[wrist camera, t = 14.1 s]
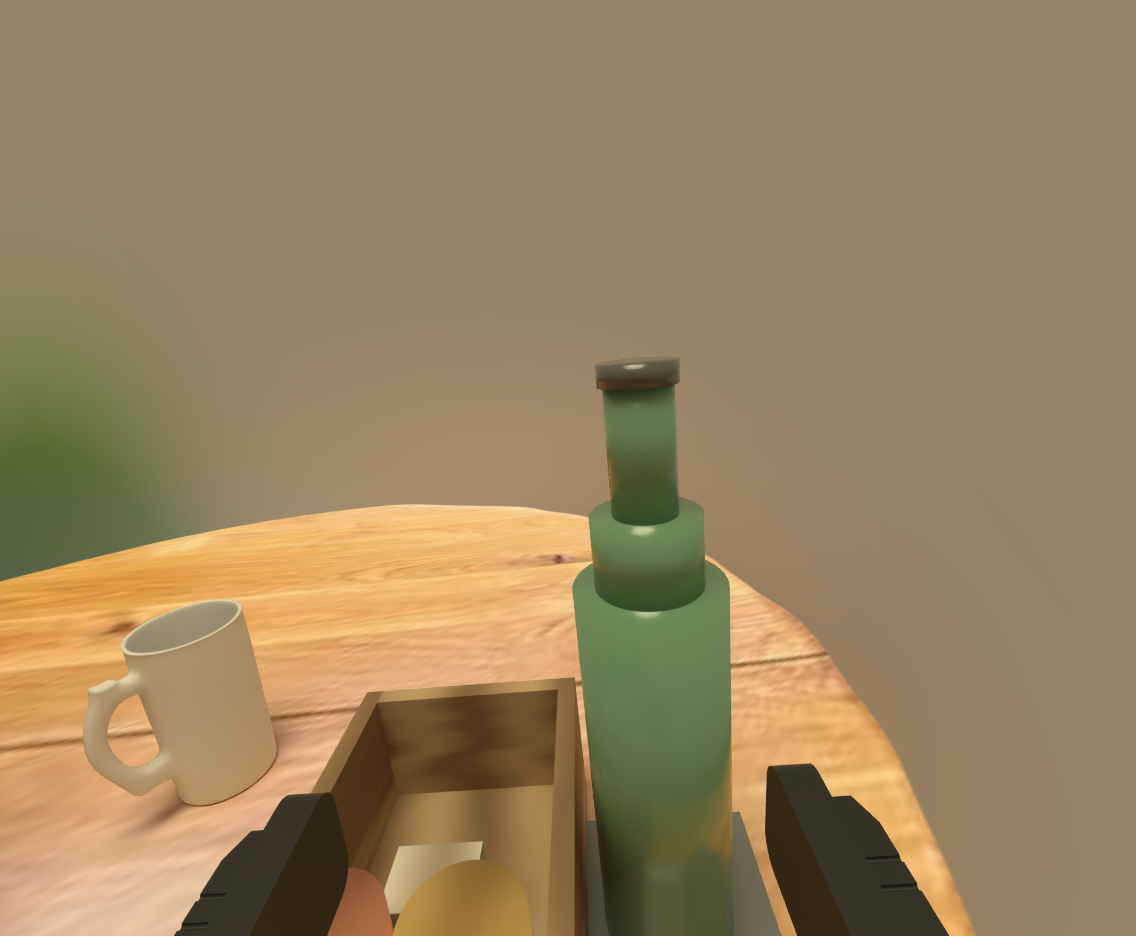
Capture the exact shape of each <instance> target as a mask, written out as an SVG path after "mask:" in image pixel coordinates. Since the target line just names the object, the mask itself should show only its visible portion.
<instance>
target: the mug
mask: <svg viewBox="0 0 1136 936" xmlns="http://www.w3.org/2000/svg"><path fill="white" fill-rule="evenodd" d="M120 649H121V651H122V652H123V654H124V656H125V659H126V662H127V665H128V669H129V673H128V674H127V676H125V677H124V678H123V679H121V680H119V681H115V680H107V681H105V682H103V683H101V684H99V685H97V686H94V687H91V688H89V689H88V695H89V702H88V707H87V712H86V717H85V722H84V730H83V744H84V750H85V753H86V756H87V758H88V760H89V762H90V763H91V765H92V766H93V768H94V769H95V770H96V771H97V772H98V773H99V774H100V775H102V776H103V777H104V778H106V779H107V780H109V781H111V782H112V783H114V784H116V785H117V786H119V787H121V788H122V789H124V790H126V791H127V792H129V793H131V794H132V795H135V796H143V795H145V794H147V793H148V792H149V791H151V790H152V789H153V788H154V787H156V786H157V785H159V784H160V783H162V782H164V781H166V780H169V779H171V778H172V779H173V782H174V784H175V787H176V789H177V792H178V794H179V796H180V798H181V799H182V800H183V801H184V802H185V803H187V804H191V805H209V804H214V803H217V802H220V801H223V800H226V799H228V798H230V797H233V796H235V795H237V794H238V793H240V792H242V791H244V790H245V789H247V788H248V787H250V786H251V785H252V784H254V783H255V782H256V781H257V780H259V779H260V778H261V777H262V776H263V775H264V774H265V773H266V772H267V770H268V769H269V768H270V766H271V765H272V763H273V762H274V760H275V757H276V754H277V745H276V740H275V736H274V731H273V727H272V723H271V719H270V715H269V711H268V707H267V703H266V700H265V696H264V692H263V688H262V684H261V680H260V676H259V672H258V668H257V664H256V660H255V656H254V652H253V648H252V644H251V640H250V636H249V632H248V629H247V625H246V621H245V618H244V614H243V611H242V606H241V604H240V603H239V602H237V601H235V600H230V599H217V600H209V601H203V602H198V603H194V604H190V605H187V606H183V607H180V608H177V609H174V610H172V611H169V612H167V613H164V614H162V615H160V616H157V617H155V618H153V619H151V620H149V621H147V622H146V623H144V624H142V625H141V626H139V627H137V628H136V629H135V630H133V631H132V632H131V633H129V634H128V635H127V636H126V637H125V638H124V640H123V641H122V643H121V646H120ZM137 694H139V696H140V699H141V701H142V704H143V707H144V709H145V712H146V714H147V717H148V719H149V722H150V724H151V727H152V729H153V732H154V734H155V737H156V739H157V742H158V745H159V749H160V752H159V754H158V755H157V756H156V757H155V758H154V759H153V760H152V761H150V762H149V763H147V764H146V765H144V766H141V767H130V766H127V765H125V764H123V763H122V762H121V761H120V760H119V759H118V758H117V757H116V756H115V755H114V753H113V752H112V750H111V748H110V746H109V743H108V739H107V730H108V724H109V721H110V718H111V716H112V714H113V712H114V710H115V709H116V708H117V706H118V705H119V704H120V703H122V702H123V701H124V700H125V699H127V698H129V697H131V696H134V695H137Z"/></svg>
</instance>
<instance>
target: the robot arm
mask: <svg viewBox="0 0 1136 936" xmlns="http://www.w3.org/2000/svg"><path fill="white" fill-rule="evenodd" d="M765 834H766V843H767V848H768V853H769V858H770V861H771V865H772V868H773V871H774V874H775V877H776V880H777V882H778V885H779V888H780V890H781V893H782V896H783V899H784V901H785V904H786V907H787V909H788V912H789V915H790V918H791V920H792V923H793V926H794V928H795V931H796V934H797V936H949V935H948V933H947V931H946V930H945V928H944V927H943V925H942V923H941V922H940V920H939V918H938V917H937V915H936V913H935V912H934V910H933V909H932V907H931V905H930V904H929V902H928V900H927V899H926V897H925V896H924V894H923V892H922V891H920V890H919V889H918V887H917V883H916V881H915V879H914V878H913V876H912V874H911V873H910V871H909V869H908V868H907V866H906V865H905V863H904V862H902V861H901V859H900V855H899V853H898V852H897V850H896V848H895V847H894V845H893V843H892V842H891V840H890V839H889V837H888V835H887V834H886V832H885V830H884V829H883V827H882V825H881V824H880V822H879V821H878V820H877V819H875V818H874V817H873V816H872V815H871V814H870V813H869V812H868V811H867V810H866V809H865V808H864V807H862V806H861V805H860V804H859V803H858V802H857V801H856V800H855V799H854V798H853V797H852V796H837V797H832V796H831V794H830V792H829V791H828V789H827V787H826V785H825V783H824V781H823V780H822V778H821V776H820V774H819V772H818V771H817V769H816V768H815V767H814V766H813V765H812V764H793V765H777V766H769V767H768V769H767V785H766V817H765ZM348 868H349V857H348V850H347V846H346V842H345V838H344V834H343V831H342V827H341V823H340V819H339V815H338V811H337V807H336V803H335V800H334V797H333V795H332V794H331V793H329V792H325V793H310V794H294V795H287V796H286V797H284V798H283V799H282V800H281V802H280V803H279V805H278V806H277V808H276V810H275V811H274V813H273V815H272V816H271V818H270V820H269V821H268V823H267V825H266V826H265V828H264V830H259V831H251V832H250V833H249V834H248V835H247V836H246V837H245V838H244V839H243V840H242V841H241V842H240V843H239V844H238V845H237V846H236V847H235V848H234V849H233V850H232V851H231V852H230V853H229V854H228V855H227V856H226V857H225V858H224V859H223V860H222V861H221V862H220V864H219V866H218V867H217V869H216V870H215V872H214V873H213V875H212V877H211V878H210V880H209V881H208V883H207V884H206V886H205V888H204V889H203V891H202V892H201V894H200V899H199V901H196V902H195V903H194V905H193V907H192V908H191V910H190V911H189V913H188V914H187V916H186V918H185V919H184V921H183V922H182V927H181V929H180V931H177V932H176V933H175V935H174V936H327V935H328V933H329V930H330V927H331V925H332V922H333V920H334V917H335V914H336V912H337V909H338V907H339V904H340V902H341V899H342V896H343V893H344V890H345V886H346V882H347V876H348Z"/></svg>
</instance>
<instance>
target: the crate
mask: <svg viewBox="0 0 1136 936" xmlns="http://www.w3.org/2000/svg"><path fill="white" fill-rule="evenodd" d="M325 792H329V793H331V794H332V795H333V797H334V800H335V803H336V807H337V811H338V815H339V819H340V823H341V827H342V831H343V834H344V838H345V842H346V846H347V850H348V857H349V868H348V876H347V882H346V886H345V890H344V893H343V896H342V899H341V902H340V904H339V907H338V909H337V912H336V914H335V917H334V920H333V922H332V925H331V927H330V930H329V933H328V935H327V936H588V894H587V849H586V822H587V818H586V781H585V771H584V762H583V752H582V743H581V733H580V724H579V714H578V705H577V695H576V686H575V677H574V678H560V679H546V680H533V681H519V682H505V683H491V684H478V685H464V686H450V687H437V688H423V689H409V690H396V691H382V692H368V693H367V694H366V696H365V698H364V699H363V701H362V703H361V705H360V706H359V708H358V710H357V712H356V714H355V715H354V717H353V719H352V721H351V722H350V724H349V726H348V728H347V730H346V731H345V733H344V735H343V737H342V738H341V740H340V742H339V744H338V746H337V747H336V749H335V751H334V753H333V754H332V756H331V758H330V760H329V762H328V763H327V765H326V767H325V769H324V770H323V772H322V774H321V776H320V778H319V779H318V781H317V783H316V785H315V786H314V788H313V790H312V792H311V793H325Z"/></svg>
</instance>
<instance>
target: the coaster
mask: <svg viewBox="0 0 1136 936" xmlns="http://www.w3.org/2000/svg"><path fill="white" fill-rule="evenodd" d="M732 832H733V916H734V930H733V936H781V934H780V931H779V928H778V925H777V922H776V919H775V916H774V913H773V910H772V907H771V904H770V901H769V898H768V895H767V892H766V889H765V886H764V883H763V880H762V877H761V874H760V871H759V868H758V866H757V863H756V860H755V857H754V854H753V851H752V848H751V845H750V842H749V839H748V836H747V833H746V830H745V827H744V824H743V821H742V818H741V815H740V812H732ZM586 849H587V894H588V936H610V935H609V932H608V929H607V924H606V917H605V907H604V897H603V887H602V877H601V867H600V857H599V847H598V837H597V827H596V821H588V822H586Z"/></svg>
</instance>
